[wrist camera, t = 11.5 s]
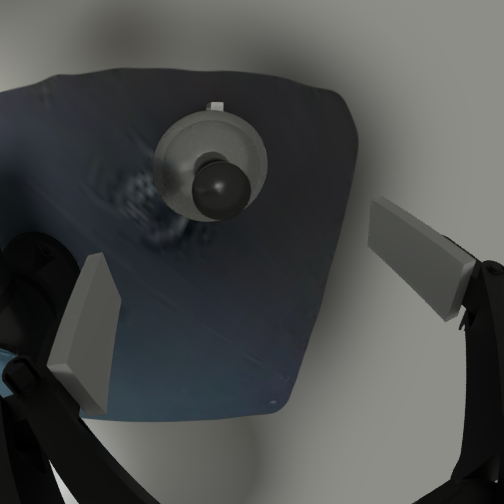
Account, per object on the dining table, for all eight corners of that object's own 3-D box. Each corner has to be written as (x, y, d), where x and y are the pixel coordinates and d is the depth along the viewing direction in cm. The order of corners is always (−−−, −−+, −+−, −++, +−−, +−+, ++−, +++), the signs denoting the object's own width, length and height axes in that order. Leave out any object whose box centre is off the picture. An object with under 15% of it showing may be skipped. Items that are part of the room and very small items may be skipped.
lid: (166, 227, 31) (165, 273, 23) (143, 123, 26) (128, 134, 18) (269, 205, 33) (299, 244, 25) (257, 102, 27) (289, 105, 19)
